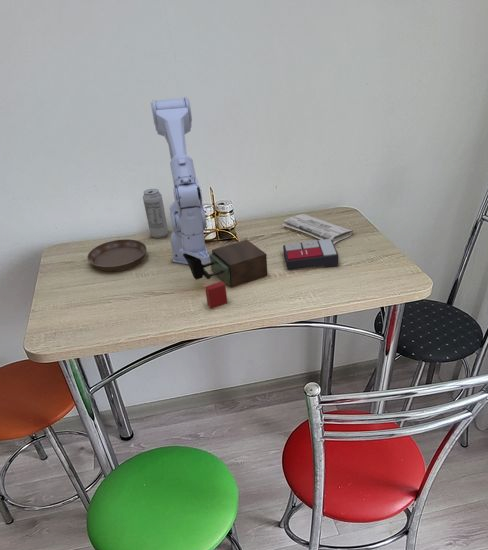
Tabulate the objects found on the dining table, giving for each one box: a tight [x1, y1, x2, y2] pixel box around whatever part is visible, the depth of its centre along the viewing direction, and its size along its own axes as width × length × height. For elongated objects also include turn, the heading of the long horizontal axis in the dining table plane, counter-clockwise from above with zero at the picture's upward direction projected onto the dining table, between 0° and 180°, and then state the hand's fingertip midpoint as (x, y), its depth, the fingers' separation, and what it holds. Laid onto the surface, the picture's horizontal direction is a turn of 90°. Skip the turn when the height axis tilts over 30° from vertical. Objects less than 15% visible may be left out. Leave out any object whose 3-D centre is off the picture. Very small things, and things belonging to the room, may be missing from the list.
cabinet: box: [211, 239, 268, 288], centre depth 138 cm, size 11×11×7 cm
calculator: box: [282, 239, 339, 271], centre depth 144 cm, size 11×4×15 cm
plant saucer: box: [86, 238, 148, 272], centre depth 149 cm, size 18×18×3 cm
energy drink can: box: [142, 188, 169, 239], centre depth 159 cm, size 6×6×15 cm
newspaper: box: [281, 213, 354, 245], centre depth 161 cm, size 23×12×2 cm, turn 43°
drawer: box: [202, 253, 231, 286], centre depth 136 cm, size 16×10×5 cm, turn 121°
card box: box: [204, 280, 228, 309], centre depth 126 cm, size 5×2×6 cm, turn 121°
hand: (198, 277), depth 133 cm, fingers closed, pressing on drawer
